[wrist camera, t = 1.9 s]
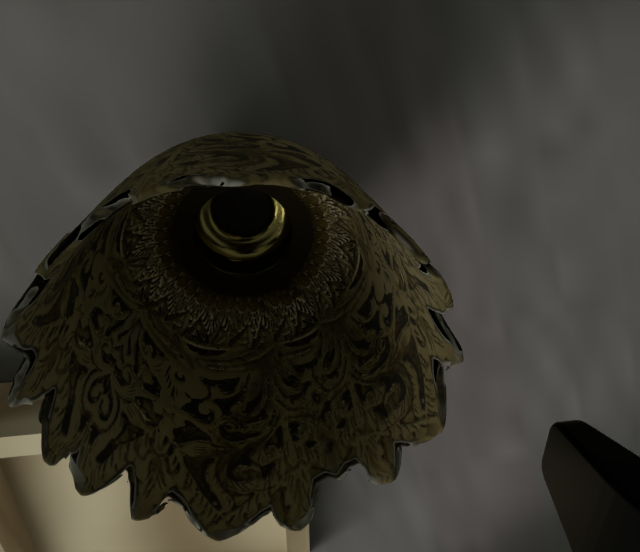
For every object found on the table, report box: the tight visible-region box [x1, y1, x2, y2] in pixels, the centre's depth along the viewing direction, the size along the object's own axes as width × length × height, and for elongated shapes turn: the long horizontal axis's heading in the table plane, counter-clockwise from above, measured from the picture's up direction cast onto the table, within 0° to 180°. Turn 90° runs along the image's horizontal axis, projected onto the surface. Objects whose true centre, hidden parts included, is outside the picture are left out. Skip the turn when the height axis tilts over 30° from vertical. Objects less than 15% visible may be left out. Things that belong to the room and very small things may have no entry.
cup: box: [3, 132, 463, 541], centre depth 13 cm, size 8×7×8 cm
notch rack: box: [0, 382, 310, 552], centre depth 19 cm, size 21×11×2 cm, turn 90°
